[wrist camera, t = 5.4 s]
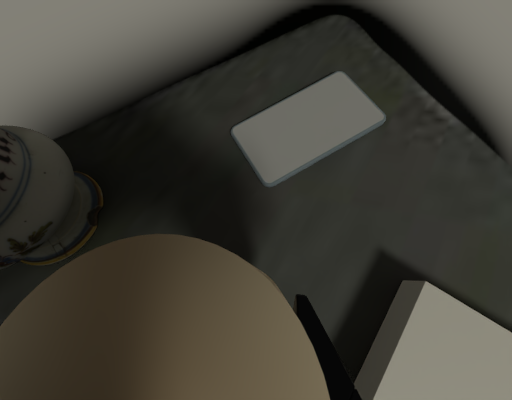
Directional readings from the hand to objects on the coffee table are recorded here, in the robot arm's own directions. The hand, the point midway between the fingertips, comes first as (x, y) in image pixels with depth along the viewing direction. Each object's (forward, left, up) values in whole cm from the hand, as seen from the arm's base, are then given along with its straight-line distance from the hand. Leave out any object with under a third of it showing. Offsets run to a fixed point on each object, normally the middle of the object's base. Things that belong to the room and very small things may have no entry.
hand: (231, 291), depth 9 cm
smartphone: (+13, +11, -11) cm, 20 cm away
